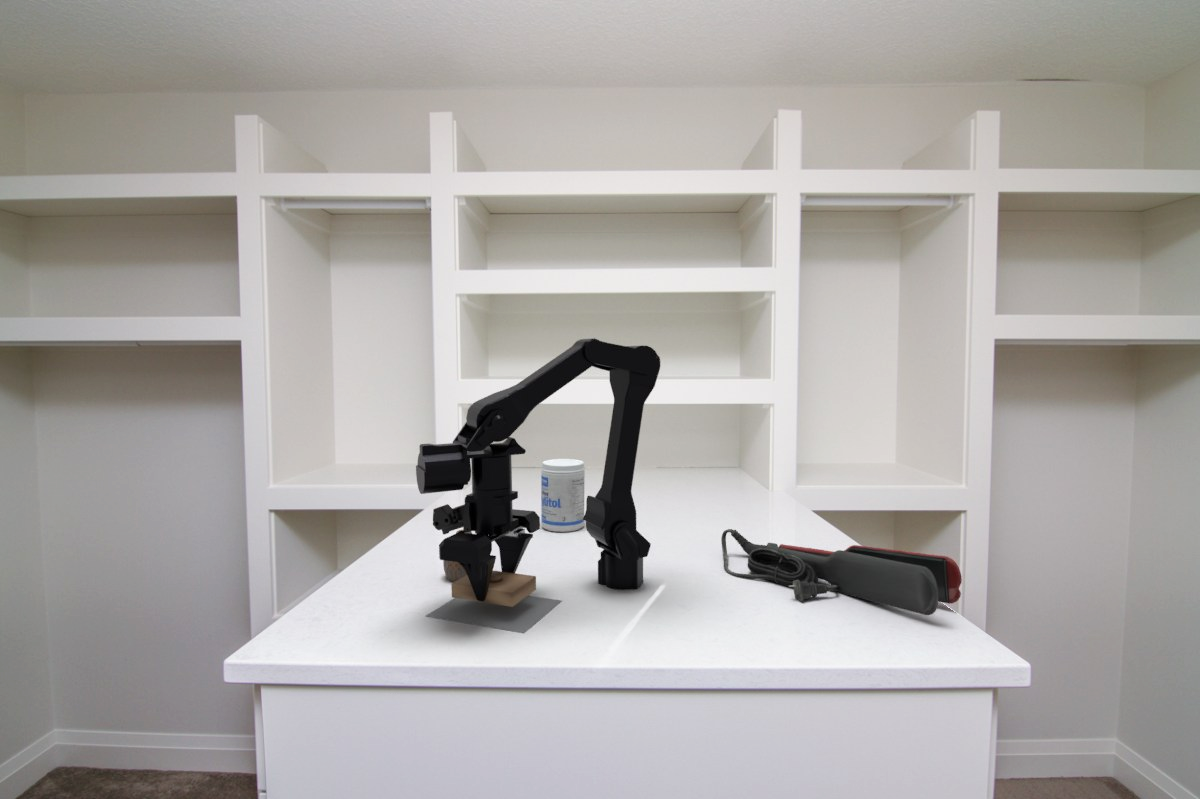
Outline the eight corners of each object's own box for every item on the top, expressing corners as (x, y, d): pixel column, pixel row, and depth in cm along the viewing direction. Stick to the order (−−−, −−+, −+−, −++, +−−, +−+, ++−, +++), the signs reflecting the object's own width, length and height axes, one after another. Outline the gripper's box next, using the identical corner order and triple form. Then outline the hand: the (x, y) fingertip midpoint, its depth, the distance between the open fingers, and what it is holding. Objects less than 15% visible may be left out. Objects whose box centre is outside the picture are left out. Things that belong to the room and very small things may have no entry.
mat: (562, 607, 95) (562, 600, 95) (524, 640, 84) (524, 633, 84) (472, 593, 101) (471, 587, 101) (425, 622, 90) (424, 616, 90)
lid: (536, 589, 94) (535, 570, 94) (512, 606, 87) (512, 586, 87) (478, 581, 98) (477, 563, 97) (451, 597, 91) (451, 578, 91)
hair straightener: (741, 550, 123) (742, 508, 123) (964, 613, 92) (965, 558, 92) (687, 567, 114) (687, 522, 113) (915, 645, 83) (917, 583, 82)
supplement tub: (533, 529, 138) (532, 463, 137) (555, 519, 147) (555, 457, 146) (571, 535, 134) (570, 466, 133) (592, 524, 142) (591, 460, 141)
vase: (476, 591, 102) (475, 537, 102) (436, 588, 104) (435, 536, 103) (491, 576, 109) (490, 526, 109) (454, 574, 111) (453, 524, 110)
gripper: (479, 472, 103) (481, 565, 104) (404, 495, 86) (408, 607, 87) (540, 476, 99) (542, 573, 100) (474, 502, 82) (477, 619, 83)
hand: (494, 591), depth 92 cm, fingers closed on lid, 7 cm apart
